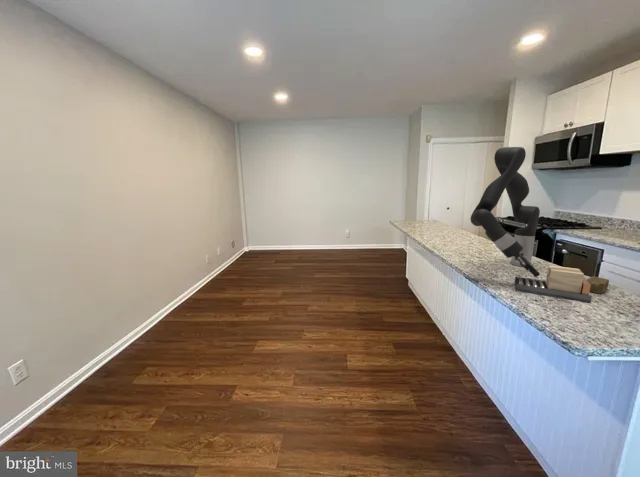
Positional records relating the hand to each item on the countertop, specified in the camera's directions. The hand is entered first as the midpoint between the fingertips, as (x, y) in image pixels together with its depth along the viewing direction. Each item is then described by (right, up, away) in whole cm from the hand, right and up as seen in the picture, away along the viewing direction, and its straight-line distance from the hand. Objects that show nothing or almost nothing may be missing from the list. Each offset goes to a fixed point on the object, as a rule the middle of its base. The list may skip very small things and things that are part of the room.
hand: (537, 275), depth 120 cm
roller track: (+4, -7, -1) cm, 8 cm away
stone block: (+26, -7, 0) cm, 26 cm away
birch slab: (+7, -5, -4) cm, 9 cm away
